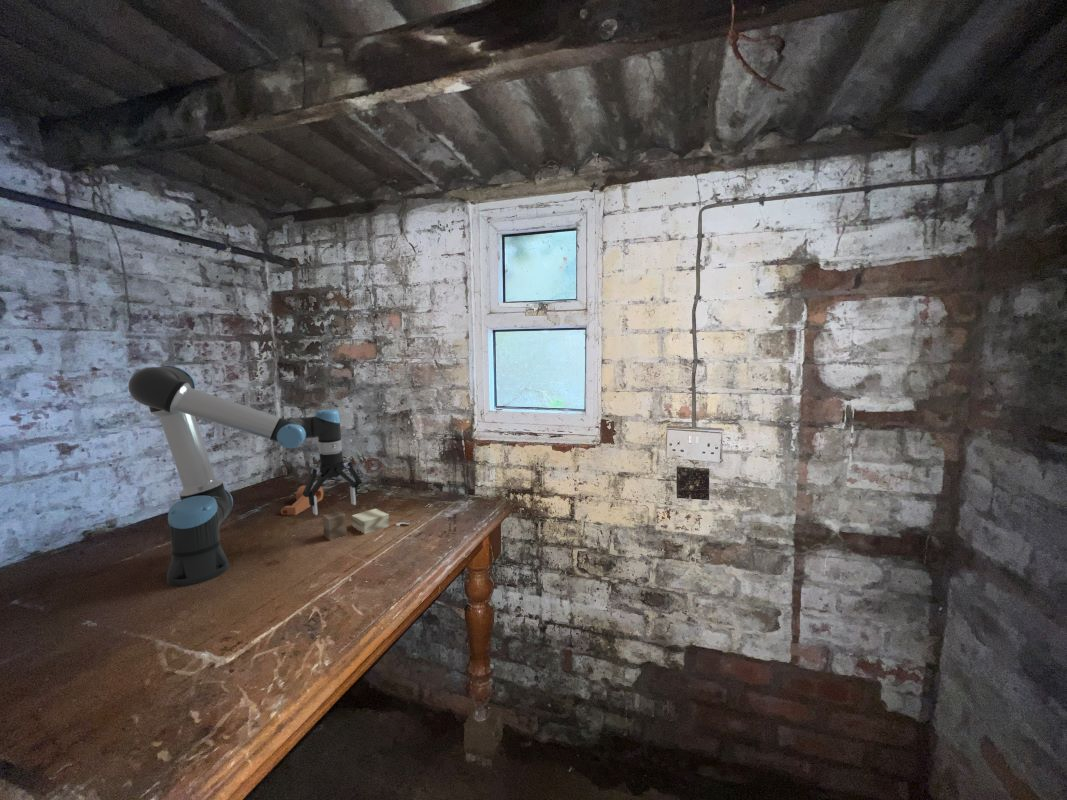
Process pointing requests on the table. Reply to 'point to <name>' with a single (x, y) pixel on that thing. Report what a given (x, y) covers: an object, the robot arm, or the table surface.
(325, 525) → the walnut block
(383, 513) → the pale square block
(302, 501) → the crank
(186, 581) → the robot arm
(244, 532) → the table surface
